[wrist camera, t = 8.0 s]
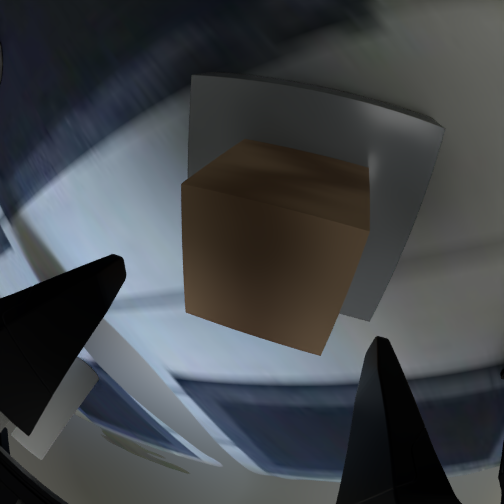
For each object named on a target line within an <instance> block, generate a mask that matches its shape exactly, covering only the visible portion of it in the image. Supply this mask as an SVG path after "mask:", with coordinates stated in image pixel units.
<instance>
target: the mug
mask: <svg viewBox="0 0 504 504" xmlns="http://www.w3.org/2000/svg"><path fill="white" fill-rule="evenodd" d="M2 67H3V59H2V49H1V44H0V82H1V77H2Z"/></svg>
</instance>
